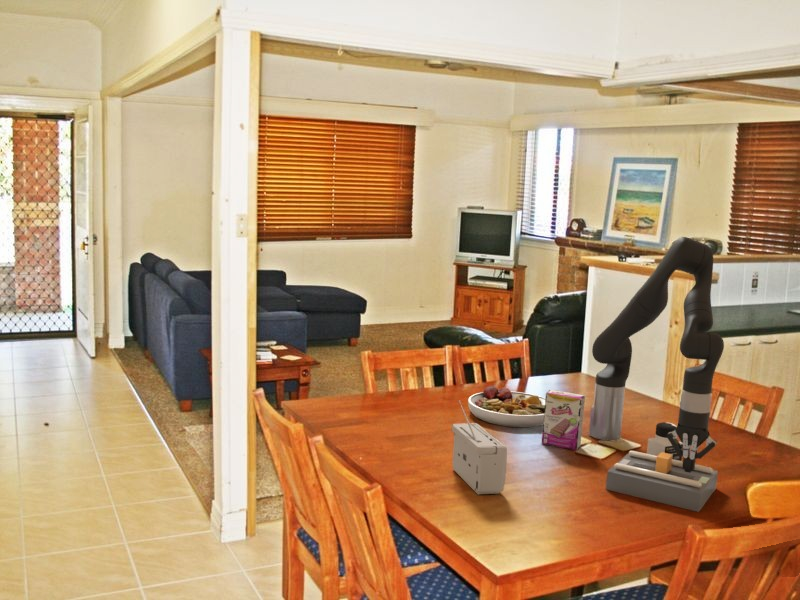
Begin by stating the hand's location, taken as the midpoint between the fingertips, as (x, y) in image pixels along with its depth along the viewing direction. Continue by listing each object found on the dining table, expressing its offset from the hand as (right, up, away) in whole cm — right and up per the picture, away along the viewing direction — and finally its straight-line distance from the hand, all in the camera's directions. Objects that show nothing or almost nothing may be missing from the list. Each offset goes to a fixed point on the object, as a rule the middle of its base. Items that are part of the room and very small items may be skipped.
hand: (688, 471), depth 225 cm
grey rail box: (-6, -6, +4) cm, 9 cm away
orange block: (-5, -1, +3) cm, 6 cm away
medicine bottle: (+1, -3, +25) cm, 25 cm away
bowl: (-38, +5, +65) cm, 76 cm away
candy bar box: (-27, 0, +37) cm, 45 cm away
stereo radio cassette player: (-56, -4, +3) cm, 56 cm away
